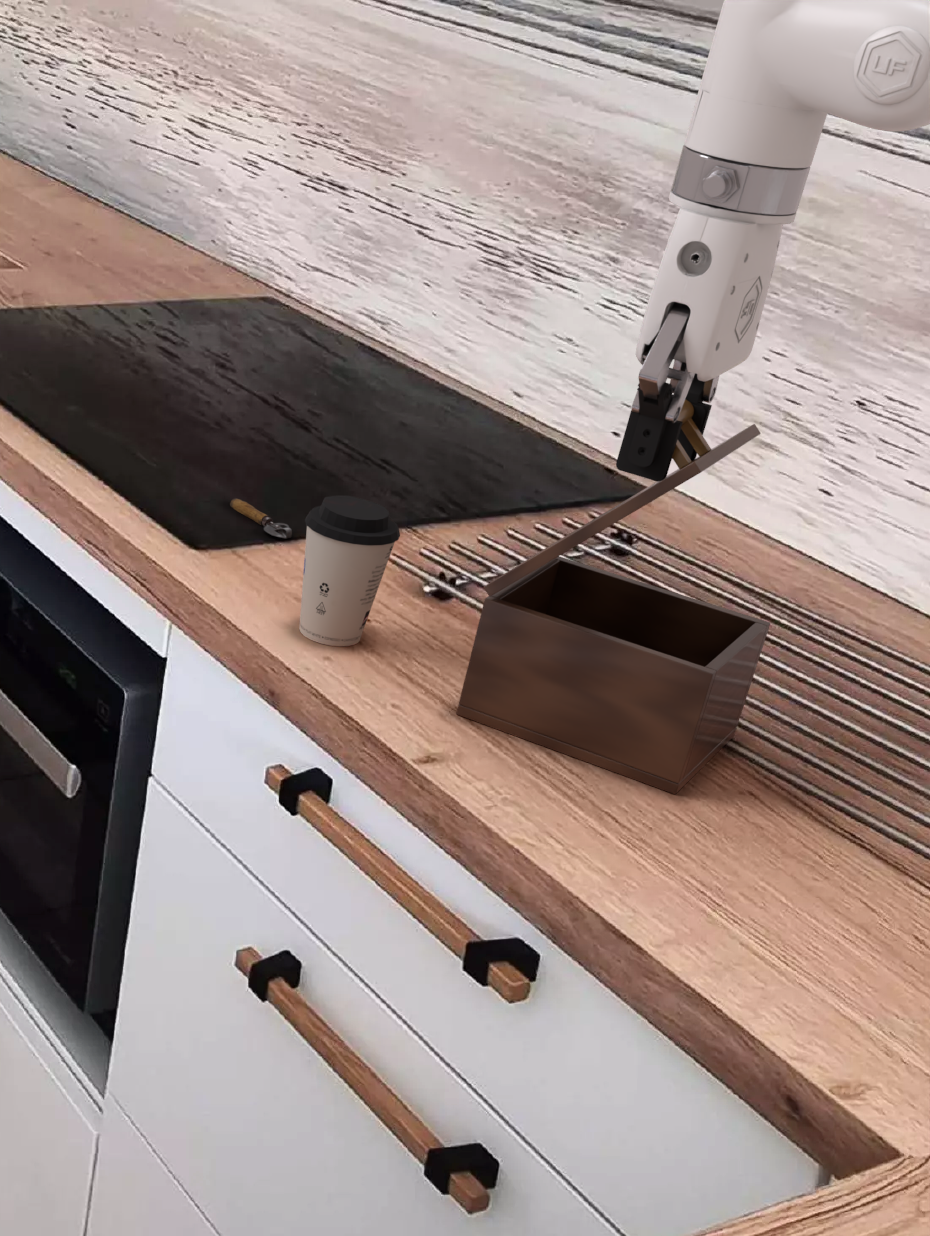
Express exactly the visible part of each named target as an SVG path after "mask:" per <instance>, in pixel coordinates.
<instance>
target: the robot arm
mask: <svg viewBox="0 0 930 1236" xmlns="http://www.w3.org/2000/svg"><path fill="white" fill-rule="evenodd" d="M692 109H693V111H692V113H691V117H690V121H689V123H688V124H689V125H688V128H687V132H686V135H685V139H684V142H683V145H682V148H681V151H680V152H681V153H680V156H679V158H678V163H677V167H676V170H675V174H674V177H673V180H672V185H671V188H670V191H669V194H668V201H669V202H670V203H672V204H673V205H675V206H677V207H679V210H678V212H677V214H676V218H675V221H674V223H673V226H672V228H671V232H670V234H669V237H668V239H667V243H666V246H665V249H664V252H663V255H662V258H661V261H660V264H659V267H658V270H657V273H656V276H655V279H654V282H653V285H652V288H651V292H650V295H649V297H648V302H647V305H646V308H645V311H644V315H643V319H642V321H641V326H640V330H639V334H638V338H637V339H638V340H637V342H636V343H637V344H636V348H635V357H636V359H637V361H638V362H639V364H640V365H642V366H641V367H640V369H639V373H638V384H637V389H636V390H637V391H636V393H635V396H634V399H633V402H632V405H631V410H630V413H629V417H628V420H627V423H626V428H625V430H624V434H623V438H622V440H621V444H620V447H619V451H618V455H617V458H616V462H615V467H616V469H617V470H619V471H621V472H624V473H628V474H630V475H633V476H638V477H640V478H644V479H648V480H651V481H655V482H657V481H661V480H663V479H664V478H666V476H667V475H668V473H669V470H670V466H671V463H672V460H673V458H672V456H673V453H674V450H675V446H676V443H677V440H678V441H679V442H680V444H681V445H682V447H683V449H684V450H685V452H686V453H687V455H688V456H689V458H690V459H691V461H693V460H695V459H696V458H697V456H698V454H697V452H696V451H695V449H694V448H693V446H692V445H691V443H690V441H689V440H688V438H687V437H686V435H685V434H684V432H683V430H682V429H681V426H682V423H683V422H681V421H678V420H677V419H678V417H679V415H680V412H681V409H682V407H683V404H684V401H685V400H688V401H689V402H690V403H691V404H692V406H693V408H694V414H693V416H692V420H693V422H694V423H695V425H696V426H697V428H698V429H699V431H700V432H701V434H702V436H703V437H704V433H705V429H706V426H707V423H708V420H709V417H710V413H711V410H712V407H713V405H712V404H711V403H712V402H713V400H714V398H715V396H716V392H717V390H718V384H719V379H720V375H722V374H724V373H727V372H728V371H730V370H733V369H734V368H735V367H737V366H739V365H741V364H742V363H744V362H745V361H746V360H747V359H748V358H749V357H750V355H751V353H752V351H753V347H754V345H755V340H756V337H757V333H758V329H759V326H760V322H761V319H762V314H763V311H764V307H765V304H766V299H767V296H768V291H769V288H770V284H771V281H772V277H773V273H774V268H775V264H776V260H777V256H778V252H779V247H780V242H781V236H782V231H783V225H789V224H792V223H794V222H795V218H796V217H797V212H798V209H799V206H800V203H801V199H802V196H803V193H804V190H805V186H806V184H807V180H808V177H809V174H810V170H811V166H812V164H813V162H814V157H815V155H816V151H817V148H818V144H819V142H820V138H821V135H822V132H823V128H824V125H825V122H826V120H827V116H828V115H832V116H834V117H836V118H839V119H842V120H845V121H848V122H851V123H854V124H856V125H859V126H862V127H865V128H868V129H872V130H877V131H881V132H882V131H883V132H905V131H906V132H907V131H913V130H916V129H920V128H922V127H926V126H928V125H930V0H723V3H722V6H721V10H720V13H719V16H718V19H717V23H716V27H715V32H714V34H713V38H712V41H711V45H710V48H709V52H708V55H707V58H706V63H705V67H704V70H703V74H702V77H701V80H700V84H699V87H698V92H697V95H696V99H695V102H694V106H693V108H692ZM673 360H674V361H673ZM672 362H673V366H672V367H670V366H671V364H672ZM668 379H669V380H670V381H669V383H668V382H667V380H668Z"/></svg>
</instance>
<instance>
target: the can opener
mask: <svg viewBox="0 0 930 1236" xmlns="http://www.w3.org/2000/svg"><path fill="white" fill-rule="evenodd" d="M229 507H231V508H232V509H233V510H234V511H236V512H238V513H240V514H241V515H243V516H245V517H246V518H249V519H250V520H252V521H254V522H255V523H257V524H258V525H260V526H261V527H263V531H264V532H265V533H267V534H269V535H271V536H273V537H277V538H282V539H284V540H286V539H290V538H292V536H293V531H292V528H291V527H290V525H289V524H287V523H284V522H274V520H273V519H272V518H271V516H270V515H269V514H267V513H265V512H262V511H260V510H259V509H257V508H256V507H254V506H253V505H252V504H250V503H248V502H247V501H245V500H242V499H240V498H237V497H234V498H232V499H231V501H230V502H229Z"/></svg>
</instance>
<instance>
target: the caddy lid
mask: <svg viewBox="0 0 930 1236" xmlns="http://www.w3.org/2000/svg"><path fill="white" fill-rule="evenodd" d="M693 414H694V408H693V406H692V404H691V403H690V402H689V401H688V400H685V401H684V404H683V407H682V409H681V412H680V415H679V417H678V419H677V420H678V421H681V422H683V423H682V426H681V429H682V430H683V432H684V434H685V435H686V437H687V438H688V440H689V441H690V443H691V445H692V446H693V448H694V449H695V451H696V452H697V456H698V457H697V456H696V458H695V460H693V461H691V459H690V458H689V456H688V455H687V453H686V452H685V450H684V449H683V447H682V445H681V444H680V442H679V441H678V440H677V443H676V446H675V450H674V453H673V456H672V458H673V459H672V460H673V462H674V463H675V464H676V466H677V469H675V470H674V471H673V472H671V473H669V474H667V476H666V478H664V479H663V480H661V481H655V482H654V483H652V484H651V485H649V486H647V487H645V488H643V489H642V490H640V491H639V492H637V493H635V494H634V495H631V497H629V498H627V499H625V500H623V501H622V502H621V503H618V504H617V505H615V506H613V507H612V508H610V509H608V510H607V511H605V512H604V513H601V514H600V515H598V516H597V517H595V518H593V519H592V520H590V521H588V522H586V523H585V524H584V525H581V526H580V527H578V528H577V529H574V530H573V531H571V532H570V533H568V534H567V535H565V536H563V537H561V538H560V539H558V540H557V541H554V542H553V543H551V544H550V545H548V546H547V547H545V548H543V549H542V550H540V551H539V552H537V553H535V554H533V555H532V556H531V557H529V558H527V559H526V560H524V561H522V562H521V563H519V564H518V565H516V566H514V567H513V568H511V569H510V570H508V571H506V572H505V573H503V574H502V575H500V576H498V577H497V578H495V579H493V580H492V581H490V582H489V583H487V584H486V585H484V586H483V589H484V591H485V592H486V594H487V595H488V596H489V597H490V596H492V595H494V594H495V593H497V592H499V591H501V590H502V589H504V588H506V587H507V586H509V585H511V584H512V583H514V582H516V581H517V580H519V579H521V578H523V577H524V576H526V575H528V574H529V573H531V572H533V571H534V570H536V569H538V568H540V567H541V566H543V565H545V564H546V563H548V562H550V561H551V560H553V559H555V558H557V557H558V556H560V557H561V556H562V555H563V554H565V553H567V552H569V551H570V550H572V549H573V548H575V547H577V546H578V545H581V544H582V543H584V542H586V541H587V540H589V539H591V538H592V537H594V536H596V535H597V534H599V533H601V532H602V531H605V529H608V528H610V527H611V526H613V525H614V524H616V523H618V522H620V521H621V520H622V519H625V518H626V517H628V516H629V515H632V514H633V513H635V512H636V511H638V510H640V509H641V508H643V507H645V506H647V505H648V504H650V503H652V502H653V501H655V500H657V499H659V498H661V497H662V496H664V495H665V494H667V493H669V492H670V491H672V490H674V489H675V488H677V487H679V486H681V485H682V484H684V483H686V482H687V481H689V480H690V479H692V478H694V477H696V476H698V475H700V474H701V473H702V472H704V471H705V470H707V469H708V468H710V467H712V466H714V465H715V464H716V463H718V462H720V461H721V460H723V459H724V458H726V457H728V456H729V455H730V454H732V453H734V452H735V451H736V450H738V449H739V448H741V447H743V446H744V445H746V444H747V443H749V442H750V441H752V440H754V439H755V438H757V437H758V436H760V435H761V431H760V430H759V428H758V427H757V425H756V424H755V423H753V424H751V425H749V426H748V427H746V428H745V429H743V430H741V431H739V432H738V433H736V434H734V435H733V436H731V437H729V438H728V439H726V440H724V441H723V442H721V443H719V444H718V445H716V446H714V447H713V448H711V447H710V445H709V443H708V442H707V440H706V439H705V437H704V435H703V436H702V434H701V432H700V431H699V429H698V428H697V426H696V425H695V423H694V422H693V420H692V416H693Z"/></svg>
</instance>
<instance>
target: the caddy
mask: <svg viewBox="0 0 930 1236" xmlns="http://www.w3.org/2000/svg"><path fill="white" fill-rule="evenodd" d="M483 600H484V601H483V604H482V609H481V613H480V617H479V621H478V625H477V627H476V632H475V637H474V642H473V645H472V649H471V653H470V656H469V660H468V665H467V668H466V673H465V676H464V679H463V680H464V681H463V685H462V688H461V693H460V697H459V700H458V705H457V708H456V715H457V716H460V717H462V718H465V719H468V720H470V721H473V722H476V723H480V724H482V725H484V726H487V727H490V728H492V729H496V730H498V731H501V732H503V733H507V734H509V735H511V736H514V737H517V738H520V739H523V740H526V741H528V742H530V743H534V744H536V745H538V746H542V747H545V748H547V749H550V750H553V751H556V752H559V753H560V754H564V755H566V756H569V757H571V758H575V759H577V760H580V761H583V762H586V763H589V764H591V765H594V766H597V767H598V768H602V769H605V770H608V771H609V772H613V773H617V774H619V775H621V776H624V777H627V778H629V779H632V780H635V781H637V782H640V783H643V784H645V785H648V786H650V787H655V788H657V789H659V790H662V791H665V792H667V793H670V794H673V795H676V794H677V793H679V791H680V790H681V789H682V788H683V787H684V786H685V785H687V783H688V782H690V780H691V779H692V778H694V776H695V775H696V774H697V773H698V772H699V771H701V769H703V768H704V766H706V765H707V764H708V763H709V761H710V760H711V759H713V758H714V757H715V756H716V755H717V754H718V753H719V752H720V751H721V750H722V749H723V748H724V747H725V746H726V745H727V744H728V743H729V742H730V741H731V740H732V739H733V738H734V736H735V734H736V732H737V727H738V726H739V723H740V722H739V721H740V719H741V716H742V713H743V709H744V706H745V703H746V702H747V701H746V700H747V698H748V694H749V691H750V688H751V684H752V682H753V679H754V675H755V673H756V669H757V666H758V663H759V660H760V657H761V654H762V651H763V647H764V644H765V642H766V638H767V635H768V632H769V629H770V626H771V622H770V621H767V620H763V619H761V618H758V617H754V616H751V615H748V614H745V613H741V612H738V611H735V610H732V609H729V608H726V607H723V606H720V605H716V604H712V603H709V602H706V601H703V600H700V599H696V598H693V597H690V596H687V595H684V594H681V593H677V592H675V591H672V590H668V589H664V588H661V587H658V586H656V585H652V584H650V583H649V584H648V583H645V582H642V581H639V580H636V579H633V578H630V577H626V576H623V575H620V574H617V573H614V572H610V571H608V570H604V569H601V568H597V567H594V566H591V565H589V564H585V563H581V562H578V561H576V560H573V559H569V558H566V557H564V556H561V555H560V556H558V557H557V558H555V559H553V560H551V561H550V562H548V563H546V564H545V565H543V566H541V567H540V568H538V569H536V570H534V571H533V572H531V573H529V574H528V575H526V576H524V577H523V578H521V579H519V580H517V581H516V582H514V583H512V584H511V585H509V586H507V587H506V588H504V589H502V590H501V591H499V592H497V593H495V594H494V595H492V596H490V597H489V595H488V596H487V597H485V598H484V599H483Z"/></svg>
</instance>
